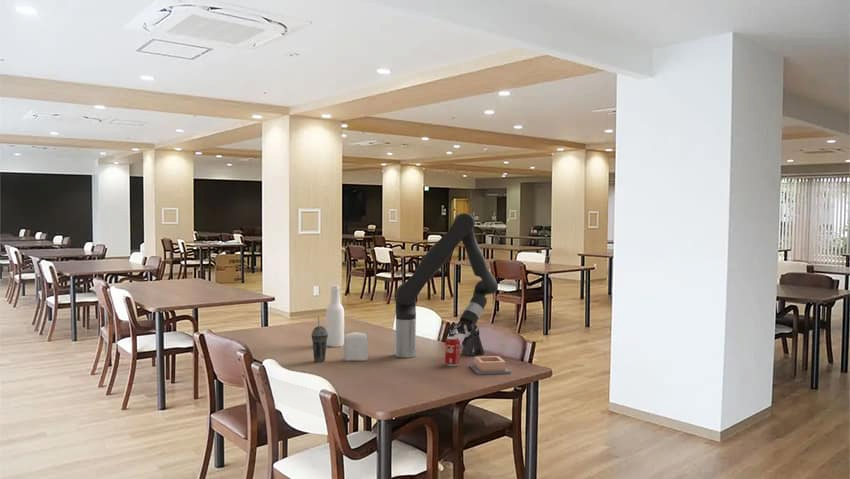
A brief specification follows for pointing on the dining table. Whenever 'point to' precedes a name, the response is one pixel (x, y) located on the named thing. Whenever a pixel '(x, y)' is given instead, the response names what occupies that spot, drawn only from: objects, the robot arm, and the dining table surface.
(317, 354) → the beverage cup
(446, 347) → the beverage can
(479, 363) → the holder
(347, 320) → the dining table surface
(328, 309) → the alcohol
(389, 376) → the dining table surface
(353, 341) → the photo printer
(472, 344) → the phone stand
